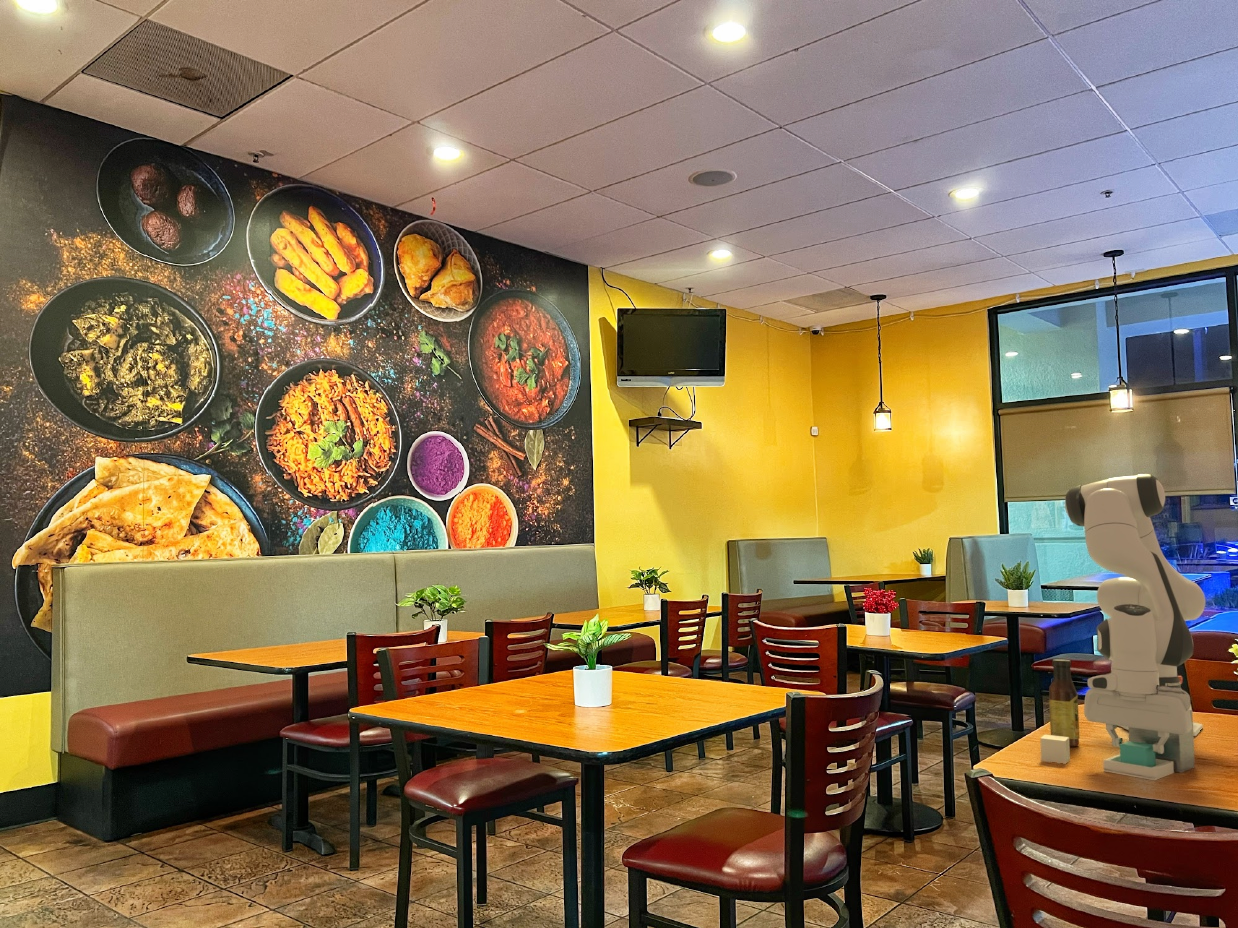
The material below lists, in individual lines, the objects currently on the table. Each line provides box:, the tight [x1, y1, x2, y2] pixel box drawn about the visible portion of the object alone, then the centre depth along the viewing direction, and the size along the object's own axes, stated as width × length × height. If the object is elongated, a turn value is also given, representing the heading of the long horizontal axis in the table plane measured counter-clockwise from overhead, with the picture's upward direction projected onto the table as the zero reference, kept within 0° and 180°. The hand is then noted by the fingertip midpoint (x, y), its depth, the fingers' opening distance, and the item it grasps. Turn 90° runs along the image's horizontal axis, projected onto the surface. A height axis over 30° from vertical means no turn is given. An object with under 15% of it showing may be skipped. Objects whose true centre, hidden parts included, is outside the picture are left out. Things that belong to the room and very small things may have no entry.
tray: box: [1102, 753, 1175, 781], centre depth 197 cm, size 10×10×2 cm
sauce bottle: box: [1048, 658, 1081, 748], centre depth 224 cm, size 7×6×20 cm
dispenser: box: [1128, 709, 1196, 774], centre depth 203 cm, size 8×10×12 cm
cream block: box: [1040, 734, 1071, 765], centre depth 207 cm, size 5×5×5 cm
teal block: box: [1119, 740, 1156, 767], centre depth 197 cm, size 5×5×5 cm
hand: (1137, 749), depth 197 cm, fingers open, 7 cm apart
